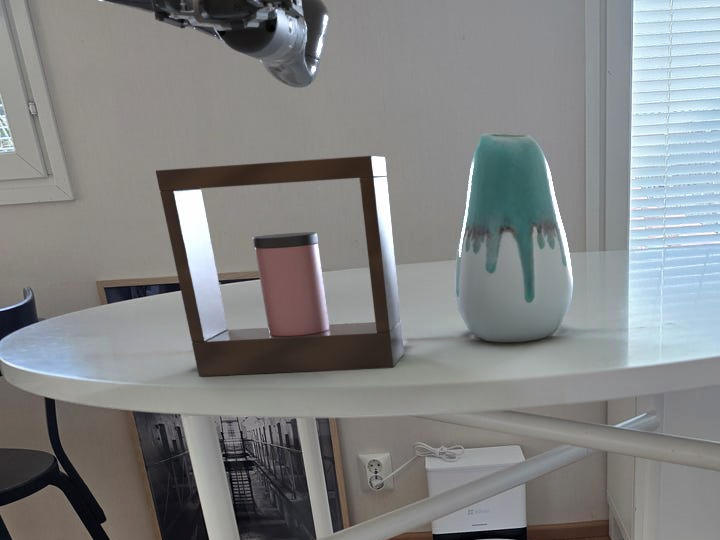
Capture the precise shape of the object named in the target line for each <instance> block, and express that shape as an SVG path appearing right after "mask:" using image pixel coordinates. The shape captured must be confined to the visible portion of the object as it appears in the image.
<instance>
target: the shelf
mask: <svg viewBox="0 0 720 540" xmlns="http://www.w3.org/2000/svg"><path fill="white" fill-rule="evenodd" d="M155 175H156V180H157V185H158V189H159V193H160V198H161V203H162V208H163V213H164V217H165V222H166V227H167V231H168V236H169V242H170V245H171V251H172V255H173V259H174V264H175V269H176V274H177V279H178V283H179V288H180V294H181V297H182V302H183V307H184V311H185V312H184V313H185V316H186V321H187V325H188V326H187V327H188V330H189V335H190V341H191V346H192V350H193V355H194V359H195V364H196V370H197V375H198V377H219V376H221V377H222V376H237V375H238V376H239V375H241V376H242V375H260V374H261V375H262V374H263V375H264V374H281V373H282V374H284V373H285V374H286V373H303V372H304V373H305V372H323V371H324V372H325V371H346V370H347V371H348V370H365V369H366V370H368V369H369V370H371V369H386V368H387V369H388V368H389V369H390V368H391V369H392V368H394V367H395V366H396V364H397V363H398V362H399V360H400V359H401V358H402V356H403V355H404V354H405V349H404V341H403V340H404V339H403V331H402V322H401V321H402V319H401V311H400V310H401V309H400V298H399V289H398V288H399V287H398V278H397V270H396V260H395V259H396V257H395V248H394V247H395V246H394V237H393V227H392V218H391V216H392V215H391V207H390V197H389V196H390V195H389V187H388V177H387V166H386V157H385V156H384V155H383V156H380V155H360V156H345V157H331V158H318V159H317V158H316V159H315V158H314V159H303V160H302V159H301V160H288V161H287V160H285V161H272V162H257V163H243V164H228V165H227V164H226V165H216V166H215V165H214V166H200V167H199V166H198V167H186V168H171V169H158V170H157V169H156V170H155ZM350 179H352V180H353V179H359V186H360V187H359V188H360V197H361V203H362V204H361V206H362V214H363V223H364V232H365V243H366V250H367V259H368V260H367V261H368V269H369V276H370V286H371V287H370V288H371V295H372V305H373V313H374V314H373V315H374V322H355V323H354V322H352V323H335V324H334V323H333V324H329V329H328V330H326V331H324V332H320V333H315V334H308V335H300V336H273V335H270V334H269V330H268V327H258V328H257V327H256V328H237V329H234V328H233V329H228V324H227V318H226V314H225V309H224V303H223V297H222V292H221V286H220V282H219V277H218V276H219V275H218V271H217V266H216V261H215V256H214V255H215V254H214V251H213V246H212V245H213V244H212V240H211V235H210V229H209V224H208V219H207V214H206V208H205V202H204V199H203V193H202V189H214V188H215V189H216V188H229V187H230V188H231V187H247V186H260V185H261V186H263V185H274V184H276V185H277V184H289V183H290V184H291V183H303V182H304V183H306V182H307V183H308V182H319V181H320V182H321V181H334V180H335V181H337V180H350Z"/></svg>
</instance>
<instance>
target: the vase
mask: <svg viewBox="0 0 720 540" xmlns="http://www.w3.org/2000/svg"><path fill="white" fill-rule="evenodd" d="M468 172H469V173H468V178H467V180H468V181H467V187H466V193H465V201H464V210H463V216H462V221H461V226H460V231H459V236H458V242H457V249H456V255H455V267H454V285H453V286H454V287H453V288H454V289H453V290H454V299H455V304H456V307H457V311H458V313H459V316H460V318H461V320H462V322H463V324H464V325H465V326H466V328H467V329H468V330H469V331H470V332H471V334H473V335H474V336H475V337H476V338H478V339H480V340H483V341H487V342H491V343H522V342H523V343H524V342H530V341H531V342H532V341H536V340H537V341H538V340H541V339H543V338H547V337H549V336H550V335H552V334H554V333H555V332H556V331H557V330H558V329H559V328H560V327H561V325H562V324H563V323H564V321H565V319H566V317H567V315H568V313H569V310H570V307H571V304H572V297H573V291H574V286H573V285H574V279H573V270H572V269H573V268H572V262H571V257H570V252H569V251H570V250H569V245H568V241H567V237H566V232H565V229H564V226H563V222H562V219H561V215H560V211H559V207H558V203H557V199H556V195H555V190H554V185H553V181H552V175H551V171H550V167H549V164H548V160H547V159H546V156H545V153H544V151H543V149H542V148H541V146H540V145H539V144H538V142H537V141H536V140H535V138H534V137H532V135H530V134H523V133H522V134H521V133H501V132H499V133H497V132H494V133H493V132H492V133H490V132H489V133H481V135H480V137H479V140H478V141H477V144H476V146H475V149H474V152H473V154H472V158H471V163H470V166H469V171H468Z"/></svg>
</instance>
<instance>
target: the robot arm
mask: <svg viewBox="0 0 720 540" xmlns="http://www.w3.org/2000/svg"><path fill="white" fill-rule="evenodd" d="M99 2H104V3H109V4H113V5H117V6H121V7H126V8H131V9H133V10H139V11H143V12H145V13H148V14H149V13H150V14H153V15H154V20H155V21H158V22H160V23H165V24H167V25H170V26H174V27H176V28H180V29H185V28H189V29H192V30H195V31H197V32H199V33H202V34H203V35H207V36H209V37H211V38H214V39H216V40H219V41H221V42H223V43H224V44H225V45H226V46H227V47H229V48H230V49H232V50H234V51H236V52H238V53H241V54H243V55H246V56H248V57H250V58H254V59H256V60H259V61H260V63H261V65H262V66H263V67H264V69H265V70H266V71H267V72H268V73H269V75H270V76H272V77H273V78H274V79H275V80H277V81H278V82H279V83H282V84H283V85H286V86H288V87H290V88H296V89H302V88H303V89H304V88H306V87H309V86H311V84H312V83H313V82H314V81H315V80H316V78H317V76H318V72H319V69H320V65H321V60H322V56H323V50H324V46H325V42H326V36H327V33H328V28H329V22H330V13H329V10H328V7H327V6H326V3H325V2H324V0H99Z"/></svg>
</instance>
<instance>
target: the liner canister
mask: <svg viewBox="0 0 720 540" xmlns="http://www.w3.org/2000/svg"><path fill="white" fill-rule="evenodd" d="M318 236H319V235H318V233H317V232H315V231H313V232H312V231H311V232H307V231H305V232H289V233H287V232H286V233H275V234H266V235H265V234H264V235H259V236H258V235H257V236H254V237H252V244H253V248H254V253H255V258H256V263H257V271H258V275H259V282H260V288H261V294H262V300H263V305H264V306H263V307H264V312H265V317H266V323H267V328H268V330H269V334H270V335H273V336H300V335H308V334H315V333H320V332H324V331H326V330H328V329H329V325H330V322H329V315H328V307H327V300H326V291H325V285H324V279H323V277H324V276H323V270H322V262H321V255H320V249H319V247H320V246H319V237H318Z"/></svg>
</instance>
